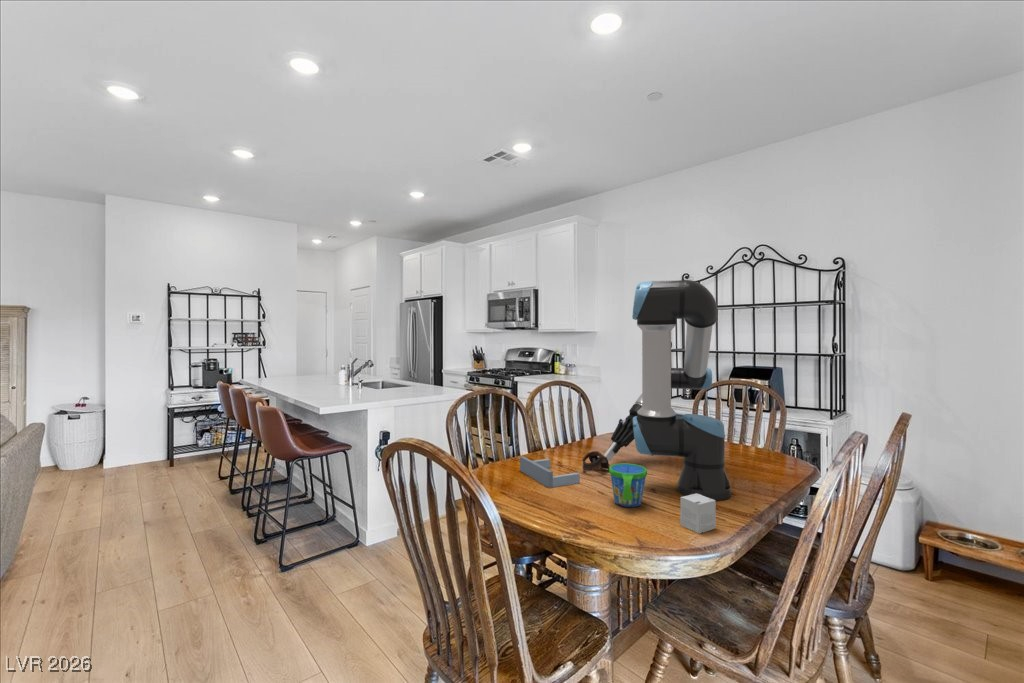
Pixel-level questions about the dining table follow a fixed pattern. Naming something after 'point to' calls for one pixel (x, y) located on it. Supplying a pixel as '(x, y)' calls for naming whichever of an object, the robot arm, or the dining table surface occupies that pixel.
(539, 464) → the seat channel
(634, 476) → the snack cup
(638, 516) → the dining table surface
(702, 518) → the skincare box
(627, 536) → the dining table surface
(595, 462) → the pottery mug
